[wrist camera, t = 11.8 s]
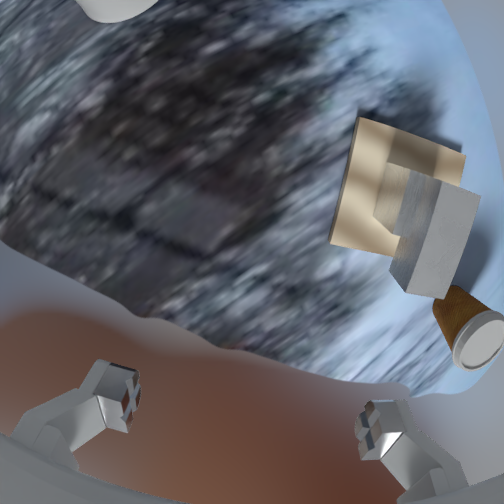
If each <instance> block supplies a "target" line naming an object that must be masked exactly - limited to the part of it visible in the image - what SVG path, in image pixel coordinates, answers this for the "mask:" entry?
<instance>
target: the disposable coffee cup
mask: <svg viewBox="0 0 504 504" xmlns="http://www.w3.org/2000/svg"><path fill="white" fill-rule="evenodd" d="M433 314H434V316H435V318H436V320H437V322H438V324H439V326H440V328H441V330H442V332H443V334H444V336H445V339H446V341H447V343H448V345H449V347H450V349H451V351H452V360H453V362H454V364H455V365H456V366H457V367H459V368H462V369H463V370H465V371H468V372H469V371H476V370H479V369H481V368H483V367H484V366H486V365H487V364H488V363H490V362H491V361H492V360H493V359H494V358H495V357H496V356H497V355H498V354H499V352H500V351H501V349H502V348H503V346H504V316H503V315H502V314H501V313H499V312H497V311H493V310H491V309H490V308H488V307H487V306H485V305H484V304H483V303H481V302H480V301H478V300H477V299H476V298H474V297H473V296H471V295H470V294H469V293H467V292H466V291H464V290H463V289H462V288H460V287H458V286H450V287H449V289H448V291H447V294H446V296H445V298H444V299H438V298H436V299H435V301H434V304H433Z"/></svg>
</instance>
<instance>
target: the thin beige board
mask: <svg viewBox="0 0 504 504" xmlns="http://www.w3.org/2000/svg"><path fill="white" fill-rule="evenodd" d="M465 159H466V155H463V154H461V153H459V152H456V151H454V150H452V149H449V148H447V147H445V146H442V145H440V144H437V143H435V142H432V141H430V140H427V139H424V138H422V137H419V136H416V135H414V134H411V133H408V132H405V131H402V130H400V129H397V128H394V127H391V126H388V125H385V124H382V123H378V122H375V121H372V120H369V119H365V118H362V117H357V119H356V124H355V129H354V134H353V138H352V143H351V148H350V152H349V157H348V161H347V166H346V170H345V174H344V179H343V183H342V187H341V191H340V195H339V199H338V203H337V207H336V211H335V215H334V219H333V223H332V227H331V231H330V234H329V238H328V241H329V243H330V244H333V245H338V246H343V247H348V248H353V249H358V250H363V251H367V252H372V253H377V254H382V255H386V256H391V257H394V254H395V251H396V248H397V245H398V242H399V239H400V236H397V235H393V234H391V233H390V232H389V231H388V230H387V229H386V228H385V227H384V226H383V225H382V224H381V223H379V222H378V221H377V220H376V219H375V218H374V217H373V213H374V209H375V206H376V202H377V199H378V195H379V191H380V187H381V183H382V179H383V175H384V171H385V167H386V163H387V162H389V163H392V164H395V165H398V166H401V167H404V168H407V169H410V170H413V171H416V172H419V173H422V174H425V175H428V176H431V177H434V178H436V179H439V180H442V181H444V182H447V183H450V184H452V185H455V186H457V187H459V185H460V181H461V177H462V172H463V168H464V164H465Z"/></svg>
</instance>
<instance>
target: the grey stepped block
mask: <svg viewBox="0 0 504 504" xmlns="http://www.w3.org/2000/svg"><path fill="white" fill-rule="evenodd" d="M480 198H481V196H479V195H477V194H475V193H472V192H470V191H467V190H465V189H462V188H460V187H457V186H455V185H452V184H450V183H447V182H444V181H442V180H439V179H436V178H434V177H431V176H428V175H425V174H422V173H419V172H416V171H413V170H410V169H407V168H404V167H401V166H398V165H395V164H392V163H389V162H387V163H386V167H385V171H384V175H383V179H382V183H381V187H380V191H379V195H378V199H377V202H376V206H375V209H374V213H373V217H374V218H375V219H376V220H377V221H378V222H379V223H381V224H382V225H383V226H384V227H385V228H386V229H387V230H388V231H389V232H390V233H391V234H393V235H397V236H400V239H399V242H398V245H397V248H396V251H395V254H394V257H393V260H392V263H391V266H390V268H389V272H390V273H391V274H392V276H393V277H394V278H395V280H396V281H397V282H398V284H399V285H400V286H401V288H402V289H403V290H404V292H405V293H409V294H415V295H421V296H427V297H433V298H438V299H444V298H445V296H446V294H447V291H448V289H449V287H450V284H451V282H452V279H453V277H454V274H455V272H456V269H457V267H458V264H459V262H460V259H461V256H462V254H463V251H464V248H465V245H466V243H467V240H468V237H469V234H470V231H471V228H472V225H473V222H474V218H475V215H476V212H477V208H478V205H479V202H480Z"/></svg>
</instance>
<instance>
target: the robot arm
mask: <svg viewBox="0 0 504 504" xmlns="http://www.w3.org/2000/svg"><path fill="white" fill-rule="evenodd" d="M75 1H76V2H77V3H78V4H79V5H80V6H81V7H82V9H83V10H84V12H85V13H86V14H87V15H88V16H89V17H90V18H91V19H93V20H95V21H98V22H102V23H114V22H120V21H124V20H127V19H130V18H132V17H134V16H136V15H138V14H140V13H142V12H144V11H145V10H147V9H148V8H150V7H151V6H152V5H153V4H155V3H156V2H157V1H158V0H75ZM139 378H140V377H139V371H138V370H135V369H131V368H128V367H124V366H121V365H118V364H114V363H111V362H108V361H105V360H101V359H98V360H97V361H95V363H94V365H93V366H92V368H91V370H90V371H89V373H88V375H87V376H86V378H85V380H84V381H83V383H82V385H81V386H80V388H79V389H76V388H75V389H73V390H71V391H69V392H67V393H64V394H62V395H60V396H58V397H56V398H54V399H52V400H50V401H48V402H46V403H44V404H42V405H39V406H37V407H35V408H33V409H31V410H29V411H26V412H25V413H24V415H23V416H22V418H21V420H20V421H19V423H18V424H17V426H16V428H15V429H14V431H13V433H12V434H11V436H10V437H8V436H6V435H5V434H3V433H1V432H0V504H189V503H184V502H180V501H174V500H170V499H165V498H161V497H157V496H153V495H149V494H145V493H142V492H138V491H134V490H131V489H128V488H125V487H121V486H118V485H115V484H112V483H109V482H106V481H103V480H100V479H98V478H95V477H92V476H90V475H87V474H84V473H82V472H79V471H78V469H79V464H78V463H77V461H76V459H75V458H74V456H73V454H72V452H73V451H74V450H76V449H77V448H78V447H80V446H81V445H83V444H84V443H86V442H87V441H88V440H90V439H91V438H92V437H94V436H95V435H97V434H98V433H99V432H101V431H102V430H104V429H105V428H106V427H108V428H112V429H115V430H118V431H122V432H126V433H128V431H129V429H130V426H131V424H132V421H133V415H132V412H134V411H136V410H137V408H138V405H139V402H140V397H141V386H140V385H139V383H138V380H139ZM364 408H365V411H364V412H362V413H361V414H359V416H358V418H357V419H356V424H355V434H356V437H357V438H358V439H359V440H360V441H361V442H360V444H359V446H358V448H359V452H360V457H361V460H376V459H381V461H382V462H383V464H384V465H385V466H386V467H387V468H388V470H389V471H390V472H391V473H392V474H393V475H394V477H395V478H396V479H397V480H398V481H399V482H400V484H401V485H402V486H403V487H404V488H405V489H406V492H405V493H404V494H402V495H401V496H400V497H399V498H398V499H397V504H504V473H503V474H501V475H498V476H496V477H493V478H491V479H488V480H485V481H483V482H480V483H477V484H474V485H471V486H469V485H468V483H467V480H466V477H465V475H464V472H463V469H462V467H461V464H460V462H459V461H458V460H456V459H455V458H454V457H453V456H451V455H450V454H449V453H448V452H447V451H445V450H444V449H443V448H442V447H440V446H439V445H438V444H437V443H436V442H434V441H433V440H432V439H431V438H430V437H428V436H427V435H426V434H425V433H423V432H422V431H418V428H417V426H416V423H415V421H414V418H413V415H412V413H411V410H410V408H409V405H408V403H407V401H406V400H370V401H368V402H367V403H366V405H365V406H364Z"/></svg>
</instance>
